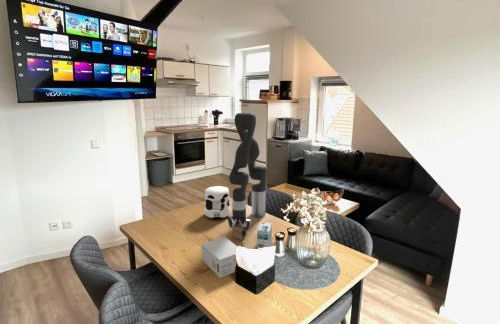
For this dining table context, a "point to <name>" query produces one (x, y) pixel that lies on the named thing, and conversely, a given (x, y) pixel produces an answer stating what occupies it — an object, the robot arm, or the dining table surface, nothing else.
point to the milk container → (217, 202)
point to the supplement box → (220, 256)
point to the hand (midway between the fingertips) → (239, 235)
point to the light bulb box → (264, 235)
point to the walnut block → (238, 232)
